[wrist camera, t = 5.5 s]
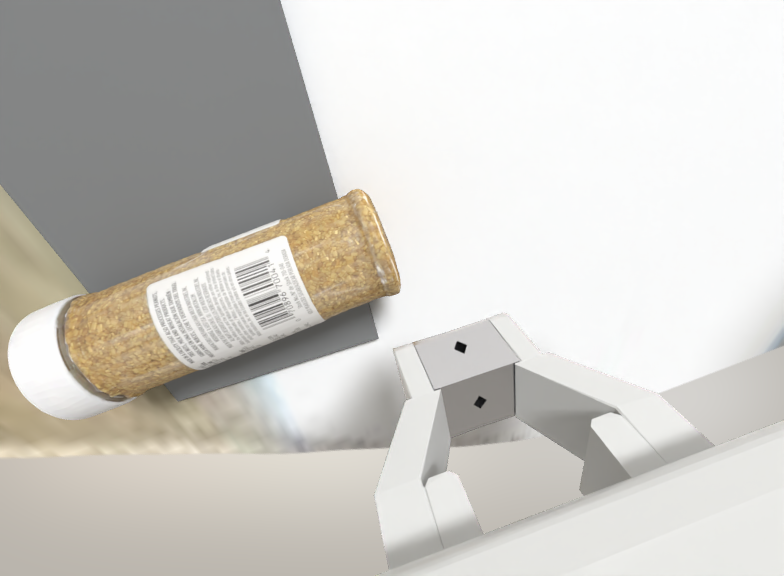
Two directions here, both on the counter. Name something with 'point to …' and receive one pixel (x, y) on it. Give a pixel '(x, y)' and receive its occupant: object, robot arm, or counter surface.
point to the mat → (162, 144)
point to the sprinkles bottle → (202, 309)
